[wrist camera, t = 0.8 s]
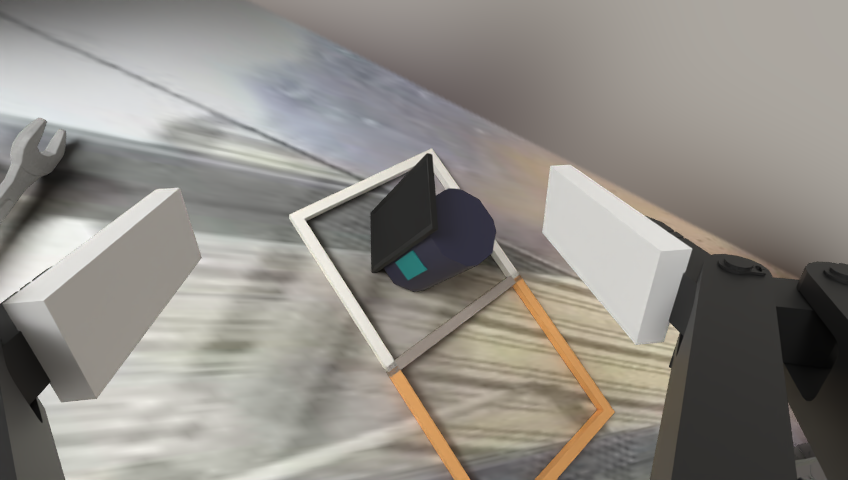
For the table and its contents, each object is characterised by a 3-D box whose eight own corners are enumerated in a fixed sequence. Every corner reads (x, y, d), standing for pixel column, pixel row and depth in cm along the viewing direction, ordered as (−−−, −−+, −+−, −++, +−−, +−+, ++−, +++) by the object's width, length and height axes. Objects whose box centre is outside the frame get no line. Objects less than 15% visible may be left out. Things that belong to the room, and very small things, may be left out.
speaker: (347, 270, 33) (396, 221, 24) (370, 211, 35) (422, 148, 27) (430, 306, 35) (502, 272, 26) (446, 247, 38) (516, 200, 29)
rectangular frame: (288, 218, 33) (289, 214, 32) (429, 152, 39) (431, 148, 39) (493, 542, 30) (499, 545, 29) (608, 411, 36) (614, 411, 36)
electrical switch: (762, 516, 38) (890, 534, 30) (733, 455, 40) (846, 457, 32) (818, 482, 42) (946, 491, 34) (789, 428, 44) (903, 424, 36)
